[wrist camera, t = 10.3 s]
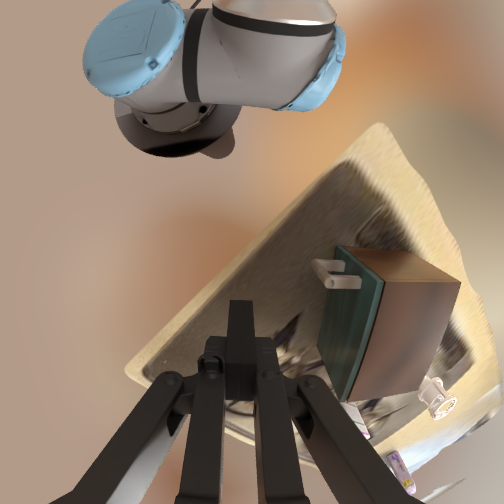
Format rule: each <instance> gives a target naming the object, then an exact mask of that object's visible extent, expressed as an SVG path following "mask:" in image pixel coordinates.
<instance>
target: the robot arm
mask: <svg viewBox="0 0 504 504" xmlns="http://www.w3.org/2000/svg"><path fill="white" fill-rule="evenodd" d="M200 1H201V0H197V1H196V2H195V3H194V4H193V5H192V6H191V8H190V9H182V8H181V6H180V5H179V4H178V3H176V2H175V1H171V0H129V1H127V2H125V3H123V4H122V5H120V6H118V7H117V8H115V9H114V10H112V11H111V12H110V13H109V14H108V15H107V16H106V18H104V19H103V20H102V21H101V22H99V24H98V25H97V26H96V28H95V29H94V30H93V32H92V34H91V35H90V37H89V39H88V41H87V43H86V46H85V49H84V53H83V70H84V74H85V76H86V78H87V80H88V81H89V82H90V83H91V84H92V85H93V86H94V87H95V88H97V89H98V90H99V91H100V92H101V93H102V94H104V95H106V96H109V97H113V98H114V99H116V100H118V101H120V102H122V103H124V104H126V105H128V106H130V107H131V109H132V112H133V114H134V116H135V118H136V119H137V120H138V121H139V122H140V124H142V125H143V126H144V127H146V128H147V129H150V130H152V131H154V132H157V133H160V134H167V135H174V134H180V133H184V132H187V131H190V130H192V129H194V128H196V127H197V126H199V125H200V124H202V123H203V122H204V121H205V120H206V119H207V118H208V117H209V116H210V115H211V114H212V112H213V111H214V109H215V108H216V106H217V104H230V105H242V106H252V107H261V108H270V109H272V110H275V111H278V110H279V111H282V110H291V111H300V112H305V111H310V110H313V109H315V108H317V107H318V106H319V105H321V104H322V103H323V102H324V101H325V99H326V98H327V97H328V96H329V94H330V93H331V91H332V89H333V87H334V85H335V83H336V81H337V79H338V77H339V74H340V72H341V68H342V64H341V60H342V59H343V57H344V56H345V50H346V38H345V34H344V32H343V30H342V29H341V27H339V26H338V25H337V24H335V20H336V16H337V14H336V12H335V10H334V9H333V7H332V6H331V5H330V3H329V2H328V1H327V0H213V4H212V5H213V6H212V7H213V8H210V9H194V8H195V7H196V6H197V5H198V3H199V2H200ZM225 400H237V401H254V409H253V417H254V428H255V447H256V467H257V486H258V504H310V500H309V498H308V497H307V496H305V493H304V488H303V483H302V477H301V471H300V465H299V460H298V454H297V448H296V443H295V437H294V431H293V426H292V421H293V423H294V424H295V426H296V428H297V430H298V432H299V434H300V436H301V438H302V439H303V441H304V443H305V445H306V447H307V449H308V450H309V452H310V454H311V456H312V458H313V459H314V461H315V463H316V465H317V467H318V468H319V470H320V472H321V474H322V475H323V477H324V479H325V481H326V482H327V484H328V486H329V487H330V489H331V491H332V493H333V494H334V496H335V498H336V500H337V501H338V503H339V504H425V503H423V502H421V501H419V500H418V499H416V498H414V497H412V496H411V495H409V494H408V493H407V491H406V490H405V489H404V487H403V486H402V485H401V484H400V482H399V481H398V480H397V478H396V477H395V476H394V474H393V473H392V472H391V471H390V469H389V468H388V467H387V465H386V464H385V463H384V461H383V460H382V459H381V457H380V456H379V455H378V453H377V452H376V451H375V449H374V448H373V447H372V446H371V444H370V443H369V442H368V440H367V439H366V437H365V436H364V435H363V433H362V432H361V431H360V429H359V428H358V427H357V425H356V424H355V423H354V421H353V420H352V419H351V417H350V416H349V415H348V413H347V412H346V411H345V409H344V408H343V406H342V405H341V404H340V402H339V401H338V400H337V398H336V397H335V396H334V394H333V393H332V391H331V390H330V389H329V387H328V386H327V385H326V383H325V382H324V380H323V379H321V378H320V377H318V376H316V375H305V376H302V377H301V378H300V379H299V380H296V379H291V378H288V377H286V376H284V375H283V374H282V372H281V371H280V368H279V363H278V357H277V352H276V346H275V342H274V341H273V340H272V339H271V337H255V330H254V316H253V303H252V301H244V300H230V306H229V318H228V330H227V337H221V336H210V337H209V338H208V339H207V341H206V345H205V352H204V354H203V355H201V356H200V357H199V358H198V373H197V374H195V375H193V376H188V377H182V375H181V374H179V373H177V372H174V371H167V372H163V373H161V374H160V375H159V376H158V377H157V378H156V379H155V381H154V382H153V383H152V385H151V386H150V387H149V389H148V390H147V392H146V393H145V394H144V396H143V397H142V398H141V400H140V401H139V402H138V403H137V405H136V406H135V408H134V409H133V410H132V412H131V413H130V414H129V416H128V417H127V418H126V420H125V421H124V422H123V424H122V425H121V427H120V428H119V429H118V430H117V432H116V433H115V434H114V436H113V437H112V438H111V440H110V441H109V442H108V444H107V445H106V447H105V448H104V449H103V450H102V452H101V453H100V454H99V456H98V457H97V458H96V460H95V461H94V462H93V464H92V465H91V467H90V468H89V469H88V470H87V472H86V473H85V474H84V476H83V477H82V478H81V480H80V481H79V482H78V484H77V485H76V486H75V488H74V489H73V490H72V491H71V492H69V493H67V494H65V495H64V496H62V497H60V498H58V499H56V500H55V501H53V502H51V503H49V504H139V503H140V501H141V500H142V498H143V496H144V494H145V493H146V491H147V489H148V487H149V486H150V484H151V482H152V480H153V479H154V477H155V475H156V473H157V471H158V470H159V468H160V466H161V464H162V462H163V461H164V459H165V457H166V455H167V453H168V451H169V449H170V448H171V446H172V444H173V442H174V440H175V439H176V436H177V435H178V433H179V431H180V429H181V428H182V426H183V424H184V422H185V420H186V418H187V416H188V414H191V418H190V424H189V430H188V436H187V443H186V449H185V455H184V462H183V469H182V476H181V482H180V490H179V494H178V495H177V496H176V498H175V503H174V504H222V479H223V478H222V477H223V452H224V451H223V450H224V428H225ZM291 419H292V420H291Z"/></svg>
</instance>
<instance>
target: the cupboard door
mask: <svg viewBox="0 0 504 504" xmlns="http://www.w3.org/2000/svg"><path fill="white" fill-rule="evenodd" d="M310 265H311V267H312V268H313V269H314V271H315V272H316V274H317V275H318V277H319V278H320V280H321V281H322V282H323V284H324V285H325V287H326V288H329V292H328V297H327V302H326V307H325V312H324V317H323V321H322V326H321V331H320V335H319V339H318V344H317V347H318V350H319V352H320V355H321V357H322V360H323V362H324V365H325V367H326V370H327V372H328V375H329V377H330V380H331V382H332V385H333V388H334V390H335V393H336V395H337V398H338V401H339V402H340V403H342V402H345V401H346V399H347V397H348V394H349V392H350V389H351V387H352V384H353V381H354V379H355V376H356V373H357V371H358V368H359V365H360V362H361V359H362V357H363V354H364V351H365V348H366V345H367V342H368V338H369V335H370V332H371V329H372V325H373V322H374V318H375V315H376V311H377V308H378V304H379V300H380V296H381V292H382V288H383V284H384V281H383V280H382V279H381V278H379V277H378V276H377V275H376V274H375V273H373V272H372V271H371V270H370V269H369V268H367V267H366V266H365V265H364V264H363V263H361V262H360V261H359V260H358V259H357V258H355V257H354V256H353V255H352V254H350V253H349V252H348V251H347V250H345V249H344V248H343V247H342V246H336V251H335V257H334V260H326V259H313V260H312V261H311V263H310ZM327 271H332V275H330V274H329V273H328V272H327Z"/></svg>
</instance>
